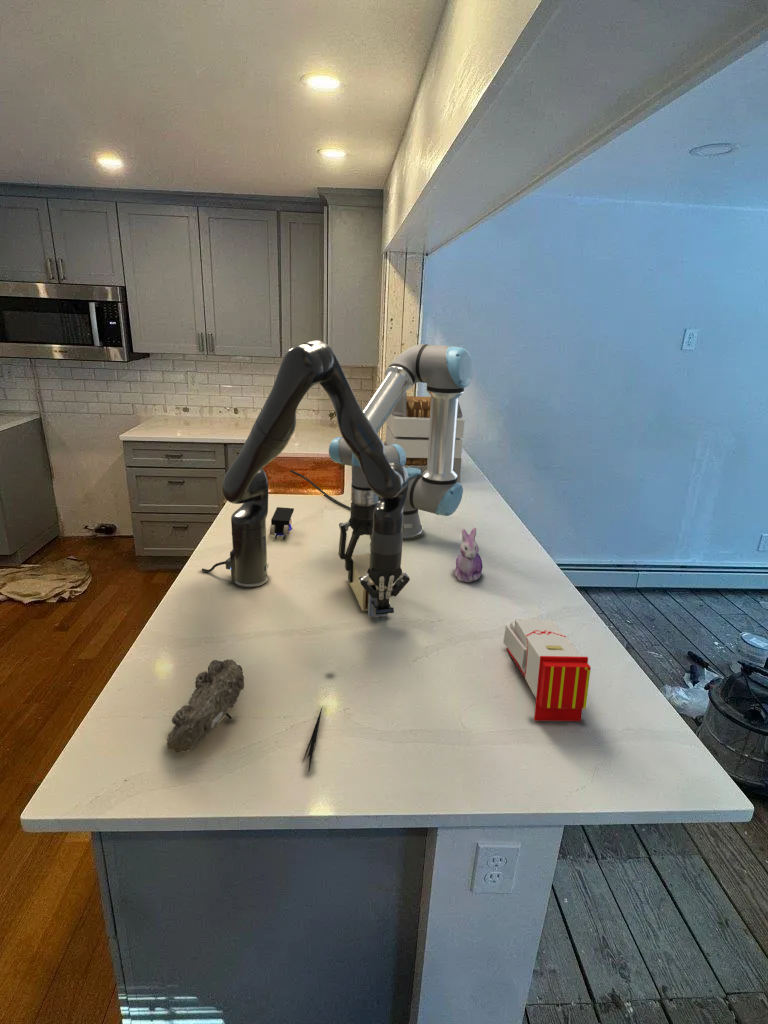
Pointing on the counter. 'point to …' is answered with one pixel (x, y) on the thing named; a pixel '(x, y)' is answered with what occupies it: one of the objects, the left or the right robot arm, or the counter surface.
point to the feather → (313, 740)
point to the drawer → (372, 607)
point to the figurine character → (281, 522)
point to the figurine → (468, 558)
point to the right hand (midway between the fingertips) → (362, 579)
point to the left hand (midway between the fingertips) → (382, 610)
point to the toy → (549, 668)
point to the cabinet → (360, 570)
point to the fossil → (206, 705)
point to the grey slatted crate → (418, 431)
